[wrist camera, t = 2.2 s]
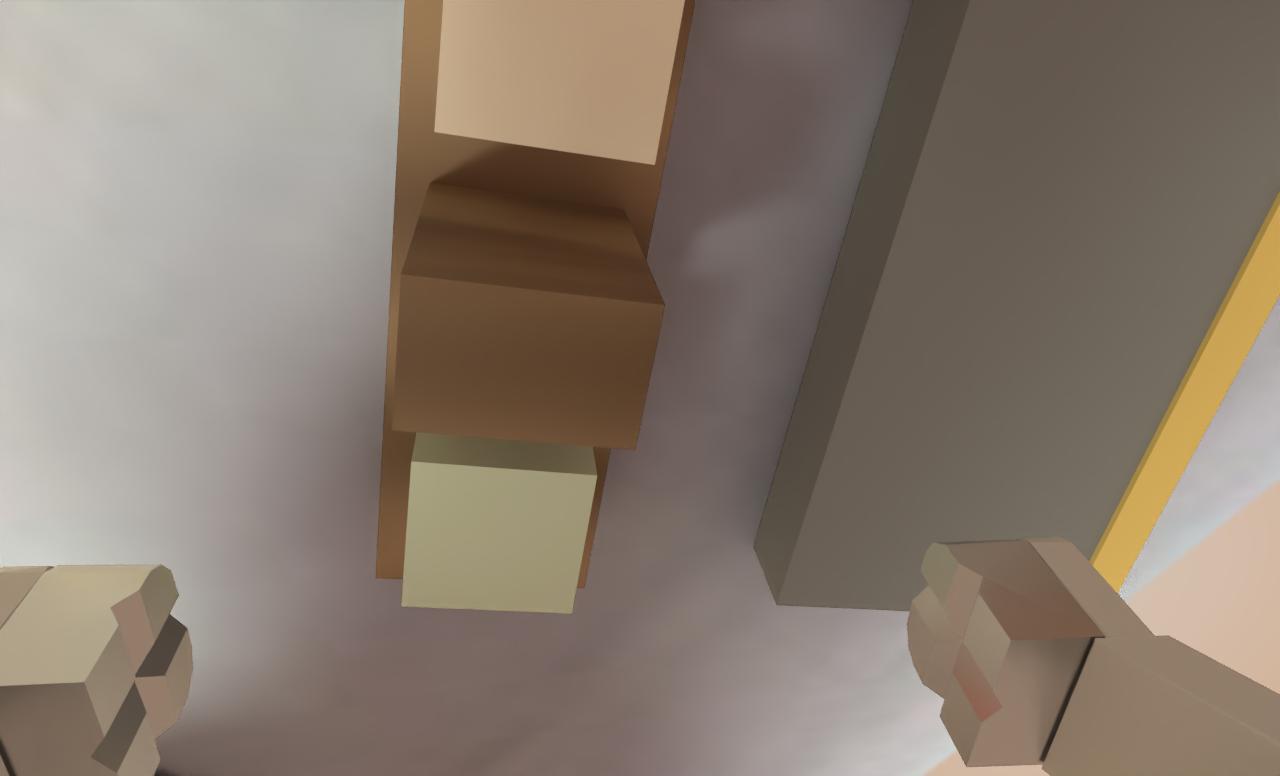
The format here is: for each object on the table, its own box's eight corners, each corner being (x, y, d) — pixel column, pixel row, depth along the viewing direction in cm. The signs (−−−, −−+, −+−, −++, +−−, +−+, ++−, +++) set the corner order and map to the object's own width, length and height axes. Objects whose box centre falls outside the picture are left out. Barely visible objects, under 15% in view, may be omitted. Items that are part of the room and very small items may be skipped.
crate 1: (628, 123, 19) (655, 165, 16) (448, 95, 19) (434, 131, 15) (660, -74, 18) (698, -77, 14) (463, -115, 17) (451, -129, 13)
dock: (1050, 564, 33) (1100, 623, 30) (753, 546, 30) (778, 609, 28) (1364, -79, 23) (1483, -81, 20) (966, -179, 21) (1037, -197, 18)
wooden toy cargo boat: (575, 509, 29) (604, 757, 20) (392, 497, 28) (338, 755, 19) (695, -183, 20) (838, -276, 11) (435, -245, 19) (373, -401, 10)
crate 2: (562, 515, 24) (571, 613, 21) (417, 505, 23) (401, 606, 20) (583, 391, 22) (597, 475, 19) (427, 375, 22) (411, 461, 18)
